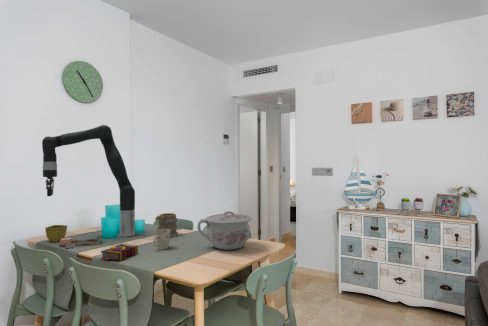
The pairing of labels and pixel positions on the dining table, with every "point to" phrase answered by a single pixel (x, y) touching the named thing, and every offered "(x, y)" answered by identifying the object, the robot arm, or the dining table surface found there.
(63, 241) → the terracotta block
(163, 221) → the tankard
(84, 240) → the trap pads
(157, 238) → the mug
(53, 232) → the flower pot
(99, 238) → the lane
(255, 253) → the dining table surface
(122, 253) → the decorative book
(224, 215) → the chamber pot
